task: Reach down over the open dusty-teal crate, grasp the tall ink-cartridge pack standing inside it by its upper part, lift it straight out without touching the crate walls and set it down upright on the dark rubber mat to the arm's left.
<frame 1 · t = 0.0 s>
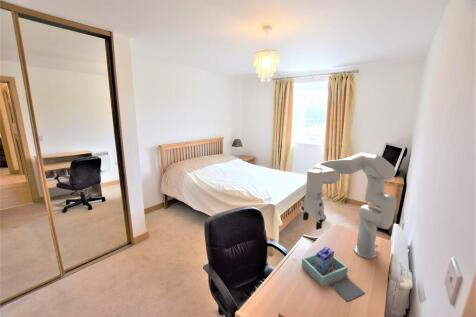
hand: (311, 224, 110), 31 cm above the table, fingers open, 9 cm apart
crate: (323, 270, 120), on the table
mat: (346, 288, 107), on the table
ink cartridge box: (323, 270, 120), resting in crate
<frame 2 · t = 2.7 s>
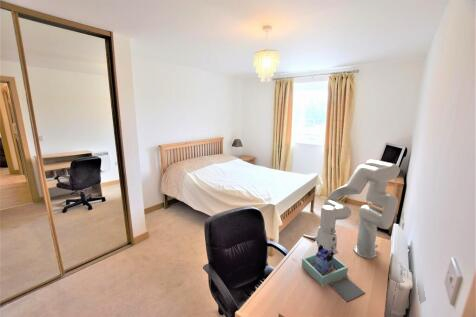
hand: (324, 256, 118), 9 cm above the table, fingers closed on ink cartridge box, 6 cm apart
ink cartridge box: (323, 270, 120), resting in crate, touching gripper
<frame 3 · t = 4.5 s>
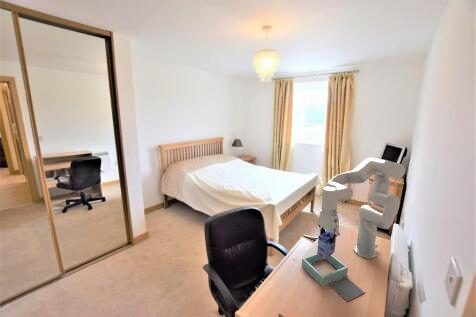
hand: (327, 239, 116), 20 cm above the table, fingers closed on ink cartridge box, 6 cm apart
ink cartridge box: (326, 254, 118), point 10 cm above the table, touching gripper
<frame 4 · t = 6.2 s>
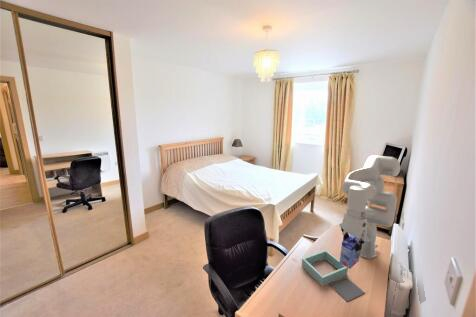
hand: (351, 245, 102), 25 cm above the table, fingers closed on ink cartridge box, 6 cm apart
ink cartridge box: (349, 262, 104), point 16 cm above the table, touching gripper
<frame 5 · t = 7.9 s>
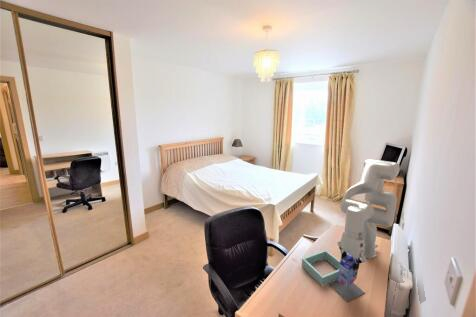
hand: (349, 264, 104), 15 cm above the table, fingers closed on ink cartridge box, 6 cm apart
ink cartridge box: (347, 280, 106), point 5 cm above the table, touching gripper
when the fingers open (10 cm above the table, at t = 9.3 s): ink cartridge box stays where it is, resting on mat.
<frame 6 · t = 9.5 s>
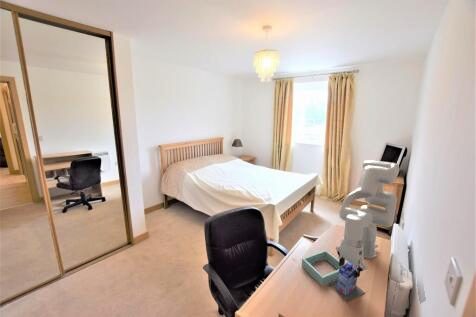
hand: (348, 270, 105), 11 cm above the table, fingers open, 8 cm apart
ink cartridge box: (346, 288, 107), resting on mat
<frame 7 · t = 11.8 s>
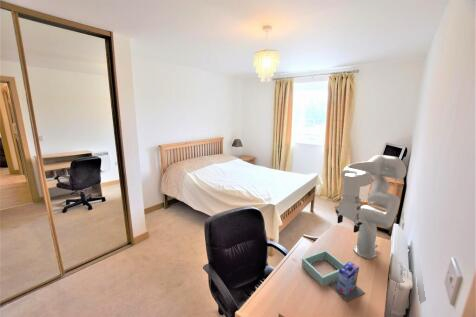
hand: (347, 226, 111), 29 cm above the table, fingers open, 9 cm apart
nothing on the table moved.
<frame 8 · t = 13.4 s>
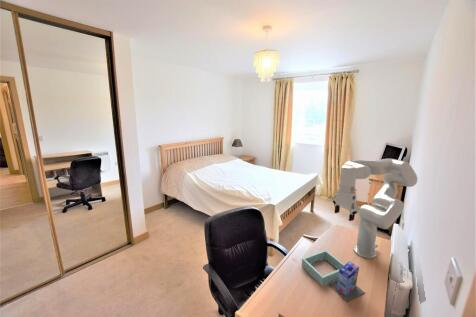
hand: (343, 216, 119), 30 cm above the table, fingers open, 9 cm apart
nothing on the table moved.
at the end: ink cartridge box inside the target area on the mat (0.2 cm from its centre), point 0.2 cm above the mat's base; ink cartridge box tilted 0°; the gripper is holding nothing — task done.
